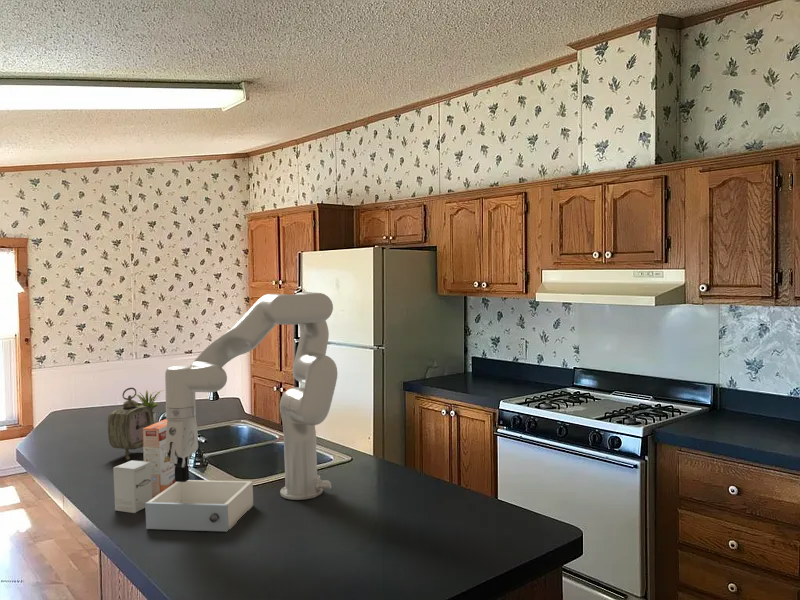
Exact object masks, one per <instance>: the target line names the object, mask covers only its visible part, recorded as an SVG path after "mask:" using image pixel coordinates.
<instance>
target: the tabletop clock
mask: <svg viewBox="0 0 800 600" xmlns="http://www.w3.org/2000/svg"><path fill="white" fill-rule="evenodd" d="M130 390H133V391H134V394H133V395H127V397H125V393H127V392H128V391H130ZM136 394H137V389H136V388H134V387H128V388H125V390H124V391H122V399H123V400H126V401H124V402H123V404H122V407H120V408H118V409H115V410H112V412H110V413H108V417H107V434H108V435H107V436H108V442H109V444H110V446H111V447H112V448H113V449H119V450H120V449H121V450H123V449H124V455H125V457H124V459H125V460H126V461H130V458H131V456H130V453H131V452H130V451H129V450H137V449H141V448H143V428H145V427H148V426H150V425H152V424H154V419H153V412H152V411H153V410H152V408H151V407H149V406H143V405H142V406H138V404H137V403H136V402H137V401H135V400H134V399H135V397H137V395H136Z"/></svg>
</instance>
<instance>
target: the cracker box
mask: <svg viewBox="0 0 800 600" xmlns="http://www.w3.org/2000/svg"><path fill="white" fill-rule="evenodd" d="M167 421H168V420H166V418H164V419H162V420H159V421H158V422H155V424H152V425H150V426H148V427H145V428H143V447H142V449H143V450H142V453H143V461H145V462H151V481H152V498H154V497H155V496H157V495H158V494H160V493H161V492H163V491H164V490H165V489H167V488H168V487H170V486H171V485H173V484H174V483H175V482H176V481H175V467H174V464H170V458H168V457H167V455H166V429H167Z"/></svg>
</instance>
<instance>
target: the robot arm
mask: <svg viewBox="0 0 800 600" xmlns="http://www.w3.org/2000/svg"><path fill="white" fill-rule="evenodd" d="M333 305H334V304H333V301H332V299H331V298H330V297H329V296H328V295H326V293H321V292H311V291H310V292H309V291H301V292H297V293H295V294H286V293H285V294H284V293H283V294H281V293H266V294H264V295H263V296H261V297H259V299H257V301H256V302H255V303H253V305H252V306H251V307H250V308H249V309H248V310H247V311H246V312H245V314H244V315H243V316H241V318H240V319H239V320H238V321H237V323H235V324H234V326H233V327H232V328H231V329H229V330H228V331H225V333H223V334H222V335H220V337H218V338H217V339H215V340H214V341H213V342H212V343H210V344H209V345H207V346H206V348H205V349H203V351H202V352H201V353H200V354H199V355H198V356H197V357H196V358H195V359H194V360H193V362H192V363H190V365H175V366H173V365H172V366H170V367H167V369H166V370H165V373H164V374H165V376H164V377H165V379H164V380H165V419H166V420H168V421H167V429H166V455H167V457H168V458H170V464H174V467H175V481H176V482H186V481H188V480H190V472H189V471H190V467H189V465H190V458H191V455H193V454H194V453H196V451H198V449H199V434H198V433H199V432H198V423H197V418H196V416H197V415H196V407H197V406H196V393H216V392H218V391H220V390H222V389H223V388H224V387H225V386H226V384H227V381H228V376H227V372H226V370H225V369H224V366H225V365H226V364H227V363H229V362H230V361H232V360H233V359H234V358H237V357H239V356H241V355H244V354H247V353H249V352H251V351H253V350H255V349H256V348H257V347H258V345H259V344H260V343H261V342H262V341H263V340H264V339H265V338H266V337H267V336H268V334H269V333H270V332H271V331H272V330H273V329H275V327H276V325H284V326H285V325H287V326H289V325H293V326H294V325H298V326H299V332H300V333H299V340H298V345H297V349H296V353H295V356H294V357H295V358H294V361H293V365H292V376H293V378H294V379H295V380H296V381H297V382H298V383H301V384H304V388H303V387H300V386H297V387H291V388H288V389H287V390H286V391H284V392H283V394H282V396H281V398H280V401H279V411H280V412H279V413H280V417H281V418H280V419H281V422H282V429H283V431H282V432H283V452H284V453H283V454H284V455H283V457H284V481H285V482H284V483H285V485H284V487H282V488H281V489H280V491H279V494H280V496H281V497H282V498H283V499H285V500H286V499H287V500H291V501H300V500H301V501H302V500H309V499H314V498H316V497H318V496H321V495H322V494H323V492H324V490H331V489H332V482H330V480H322V479H321V475H318V459H317V455H318V454H317V453H318V452H317V433H316V431H317V430H316V426H317V425H320V424H322V423H323V422H324V421H325V419H327V417H328V414H329V413H330V409H331V406H332V401H333V397H334V393H335V389H336V386H337V380H338V367H337V364H336V362H335V361H334V360H333V358H331V357H330V356H329V355H326V354H327V348H328V344H329V343H328V342H329V334H330V333H329V327H328V323H327V320H328V319H329V318H330V317H331V315H332V314H333V311H334V306H333Z"/></svg>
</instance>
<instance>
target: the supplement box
mask: <svg viewBox="0 0 800 600" xmlns="http://www.w3.org/2000/svg"><path fill="white" fill-rule="evenodd" d="M112 469H113V490H114V491H113V493H114V510H115V511H118V512H123V513H124V512H125V513H131V514H136V513H138V512H139V511H142V510H143V509H145V503H146V502H148V501H150V500H151V499H153V497H152V481H151V462H145V461H144V460H128V461H127V462H124V463H122V464H119V465H116V466H114V467H113V468H112Z"/></svg>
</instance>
